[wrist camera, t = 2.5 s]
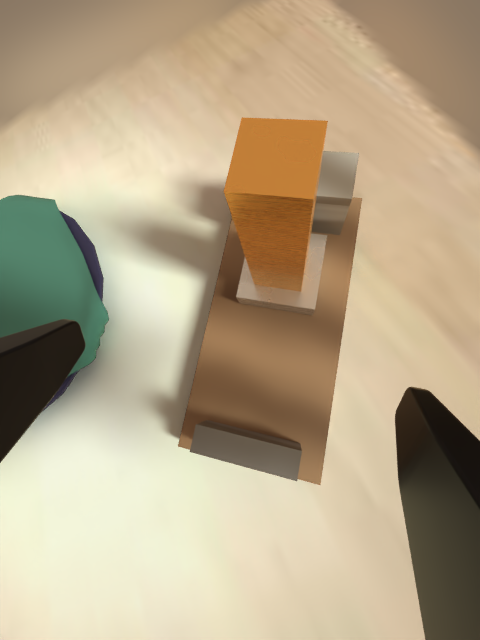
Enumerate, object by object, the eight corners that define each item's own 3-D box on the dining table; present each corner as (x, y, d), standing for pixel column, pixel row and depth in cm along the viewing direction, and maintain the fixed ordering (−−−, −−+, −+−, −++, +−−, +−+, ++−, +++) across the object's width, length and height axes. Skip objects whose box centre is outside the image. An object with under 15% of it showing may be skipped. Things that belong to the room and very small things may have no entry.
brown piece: (317, 477, 19) (329, 513, 14) (185, 442, 21) (149, 461, 15) (357, 210, 22) (379, 154, 17) (241, 199, 24) (228, 145, 19)
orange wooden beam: (313, 315, 20) (341, 230, 9) (239, 303, 21) (189, 214, 10) (337, 167, 22) (383, -38, 11) (270, 163, 23) (254, -31, 12)
